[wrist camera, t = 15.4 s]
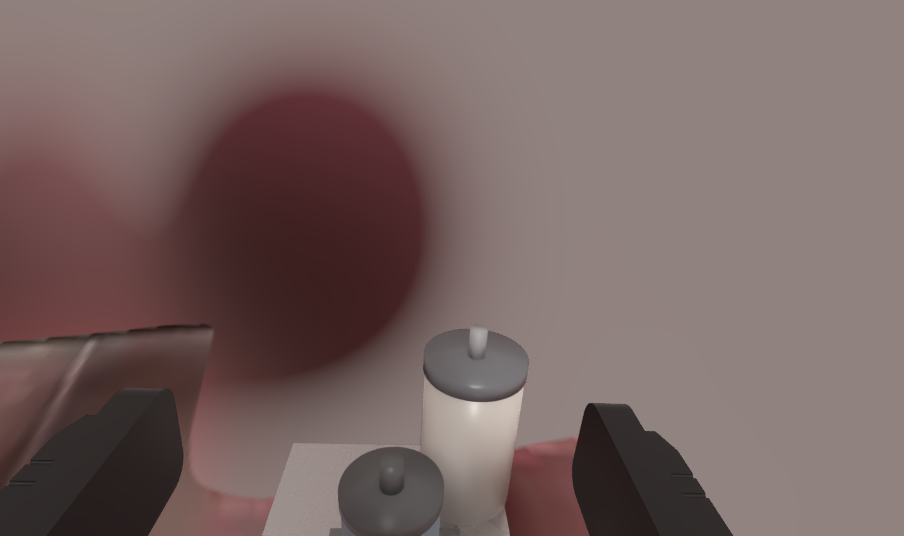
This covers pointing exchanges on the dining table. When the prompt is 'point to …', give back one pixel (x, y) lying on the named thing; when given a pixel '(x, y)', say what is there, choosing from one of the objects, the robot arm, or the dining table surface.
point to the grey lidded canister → (391, 494)
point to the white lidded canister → (472, 418)
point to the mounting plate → (336, 494)
